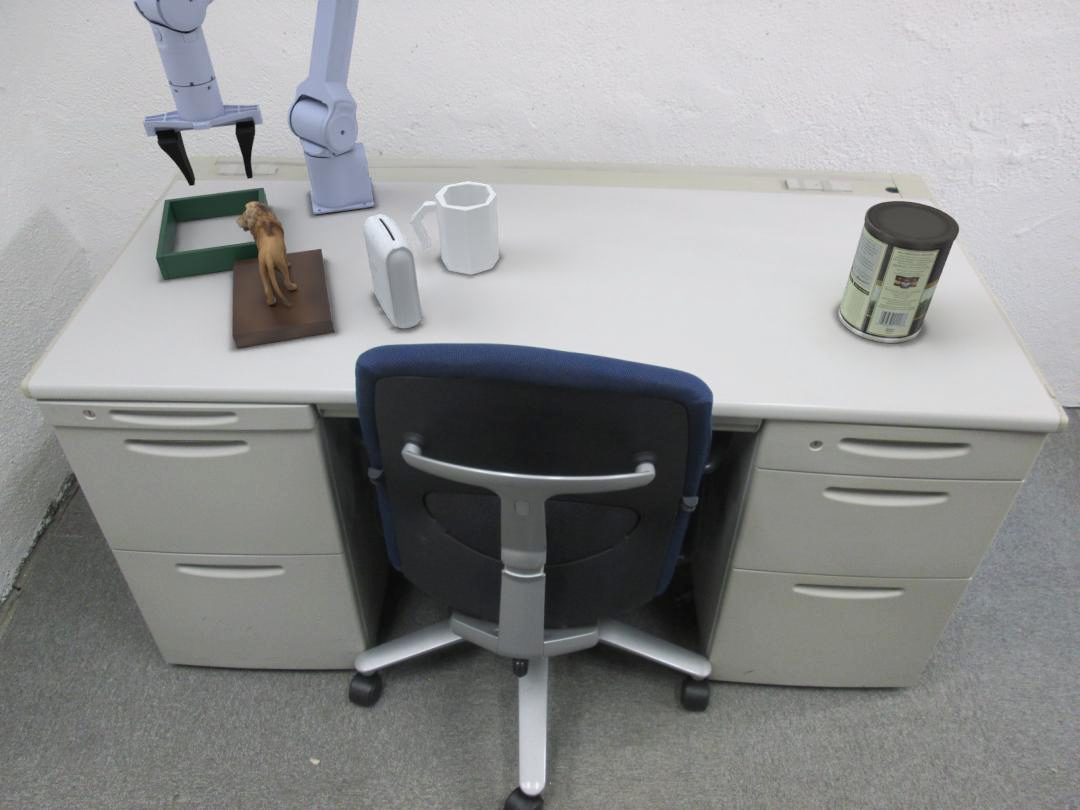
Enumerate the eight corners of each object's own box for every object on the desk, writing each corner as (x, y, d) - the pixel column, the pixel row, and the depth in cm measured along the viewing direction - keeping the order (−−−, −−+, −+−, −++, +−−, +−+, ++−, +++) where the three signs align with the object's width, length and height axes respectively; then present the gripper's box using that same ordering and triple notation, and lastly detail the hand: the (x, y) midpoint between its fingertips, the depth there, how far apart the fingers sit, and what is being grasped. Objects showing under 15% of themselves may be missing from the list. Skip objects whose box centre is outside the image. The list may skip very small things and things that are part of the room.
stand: (323, 260, 113) (321, 248, 111) (334, 332, 100) (331, 319, 98) (237, 273, 110) (233, 261, 109) (236, 348, 97) (232, 335, 96)
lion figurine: (246, 260, 109) (229, 201, 103) (285, 251, 111) (270, 192, 105) (271, 314, 99) (253, 252, 93) (313, 303, 101) (298, 241, 95)
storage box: (268, 207, 125) (263, 187, 123) (272, 263, 112) (266, 242, 110) (171, 220, 122) (164, 199, 120) (163, 279, 109) (155, 257, 107)
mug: (499, 242, 116) (496, 180, 110) (499, 274, 110) (496, 209, 103) (417, 244, 116) (410, 182, 109) (413, 276, 109) (404, 212, 103)
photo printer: (370, 293, 106) (356, 209, 98) (401, 285, 108) (389, 202, 100) (394, 333, 99) (380, 247, 91) (426, 324, 101) (415, 239, 93)
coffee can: (888, 291, 106) (922, 194, 97) (938, 335, 98) (979, 235, 89) (821, 304, 104) (848, 206, 94) (866, 350, 96) (901, 248, 87)
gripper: (128, 96, 96) (164, 198, 105) (251, 83, 99) (275, 184, 108) (133, 76, 101) (167, 176, 110) (250, 65, 104) (274, 163, 113)
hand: (221, 178), depth 109 cm, fingers open, 7 cm apart
